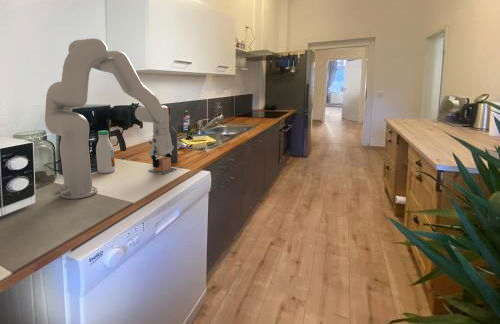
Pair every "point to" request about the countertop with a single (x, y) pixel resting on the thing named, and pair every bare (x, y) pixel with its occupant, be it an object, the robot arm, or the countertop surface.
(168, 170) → the coaster
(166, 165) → the cube
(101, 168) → the milk bottle
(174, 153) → the liquor
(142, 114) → the robot arm
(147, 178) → the countertop surface
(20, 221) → the countertop surface
